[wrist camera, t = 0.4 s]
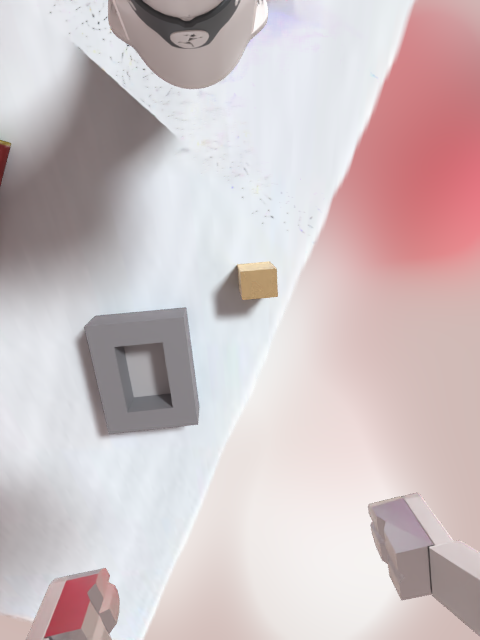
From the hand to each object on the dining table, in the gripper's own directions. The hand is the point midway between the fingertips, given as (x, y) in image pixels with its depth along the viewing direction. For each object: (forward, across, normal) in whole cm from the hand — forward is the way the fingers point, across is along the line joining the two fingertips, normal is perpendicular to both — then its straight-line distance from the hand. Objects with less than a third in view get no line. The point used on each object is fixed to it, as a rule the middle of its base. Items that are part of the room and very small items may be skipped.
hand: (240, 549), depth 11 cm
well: (+45, +15, +12) cm, 49 cm away
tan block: (+45, -5, +2) cm, 46 cm away
